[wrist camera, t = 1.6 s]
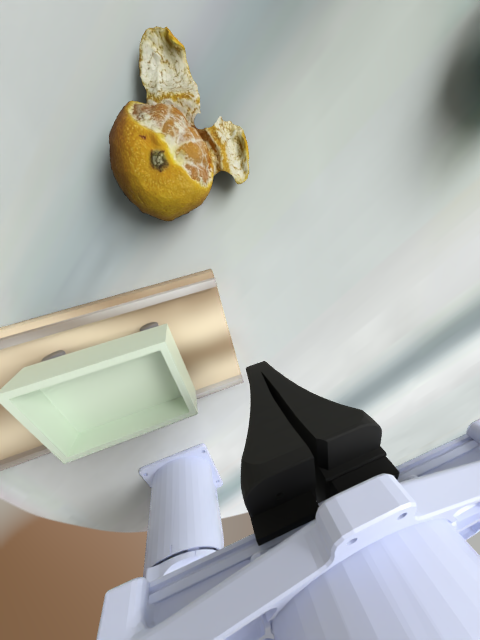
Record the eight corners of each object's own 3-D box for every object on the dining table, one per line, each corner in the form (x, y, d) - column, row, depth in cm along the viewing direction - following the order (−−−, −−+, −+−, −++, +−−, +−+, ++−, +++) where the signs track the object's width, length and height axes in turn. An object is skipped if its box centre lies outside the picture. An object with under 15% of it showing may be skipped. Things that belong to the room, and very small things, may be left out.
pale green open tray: (194, 379, 21) (197, 414, 17) (86, 417, 19) (64, 464, 15) (167, 316, 17) (165, 341, 14) (35, 356, 16) (-8, 396, 12)
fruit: (261, 156, 15) (282, 143, 12) (188, 248, 17) (189, 257, 14) (157, 15, 11) (148, -61, 8) (74, 152, 13) (39, 134, 10)
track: (240, 375, 23) (248, 395, 21) (-14, 466, 20) (-43, 504, 17) (210, 268, 18) (216, 276, 15) (-147, 368, 14) (-221, 401, 12)
